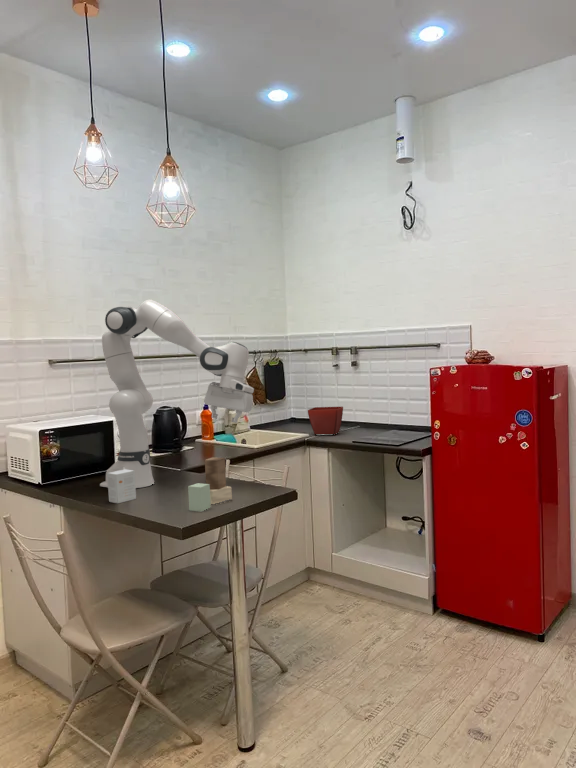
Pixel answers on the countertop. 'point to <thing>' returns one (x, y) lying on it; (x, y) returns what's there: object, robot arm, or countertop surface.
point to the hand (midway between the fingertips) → (224, 420)
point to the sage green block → (199, 497)
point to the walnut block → (215, 472)
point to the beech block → (220, 494)
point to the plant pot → (325, 419)
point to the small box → (121, 486)
